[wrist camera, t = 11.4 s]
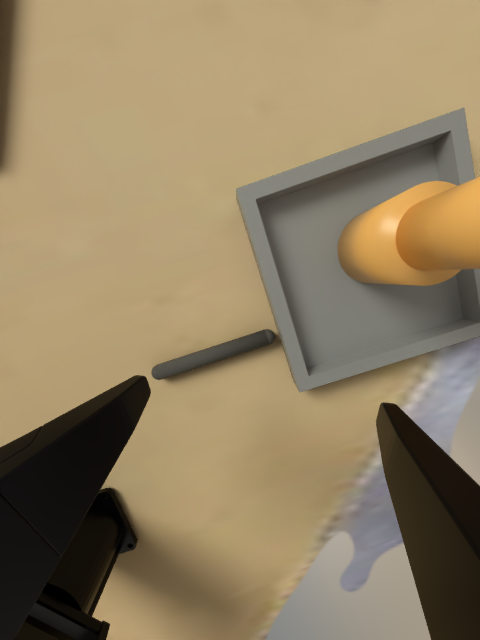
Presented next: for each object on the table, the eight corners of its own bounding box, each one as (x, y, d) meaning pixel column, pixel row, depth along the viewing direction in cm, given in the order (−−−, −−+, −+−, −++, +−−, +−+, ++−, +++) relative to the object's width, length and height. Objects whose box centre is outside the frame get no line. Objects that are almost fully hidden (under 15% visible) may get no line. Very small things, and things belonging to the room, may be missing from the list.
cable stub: (275, 339, 20) (277, 343, 19) (157, 377, 20) (152, 384, 19) (270, 325, 20) (273, 329, 18) (152, 364, 20) (146, 370, 19)
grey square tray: (471, 325, 20) (497, 330, 18) (293, 381, 20) (299, 392, 18) (438, 127, 17) (464, 107, 15) (236, 198, 18) (236, 188, 16)
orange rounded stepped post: (399, 286, 19) (715, 305, 6) (331, 279, 18) (521, 283, 6) (414, 214, 18) (819, 72, 5) (344, 206, 18) (594, 40, 5)
